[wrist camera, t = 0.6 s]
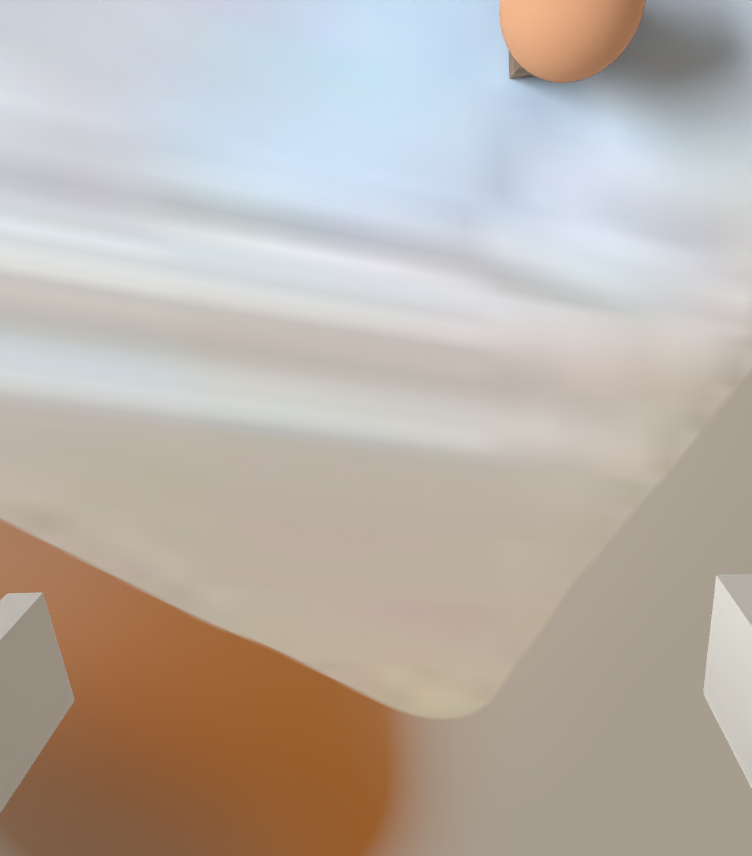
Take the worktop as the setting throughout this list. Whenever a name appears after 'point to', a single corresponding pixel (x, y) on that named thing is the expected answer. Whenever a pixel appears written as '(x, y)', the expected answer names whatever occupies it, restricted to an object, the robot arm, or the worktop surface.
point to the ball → (568, 34)
